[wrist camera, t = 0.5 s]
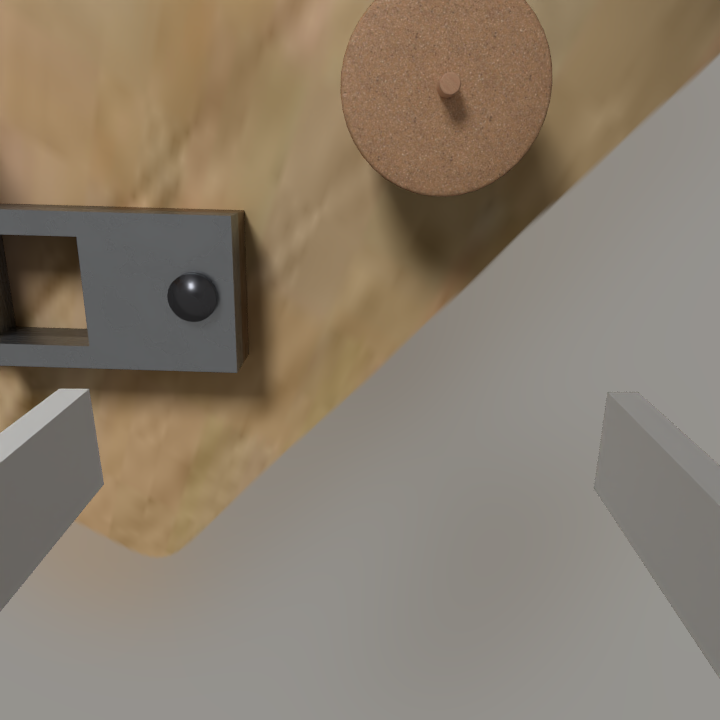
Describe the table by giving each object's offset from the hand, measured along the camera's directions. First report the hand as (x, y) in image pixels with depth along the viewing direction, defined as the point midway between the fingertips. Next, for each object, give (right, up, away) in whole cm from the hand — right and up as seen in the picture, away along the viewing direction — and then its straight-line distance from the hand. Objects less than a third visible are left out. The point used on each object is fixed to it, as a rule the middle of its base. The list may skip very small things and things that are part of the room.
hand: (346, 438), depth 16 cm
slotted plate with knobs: (-20, +8, +26) cm, 34 cm away
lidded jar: (+5, +18, +23) cm, 29 cm away
